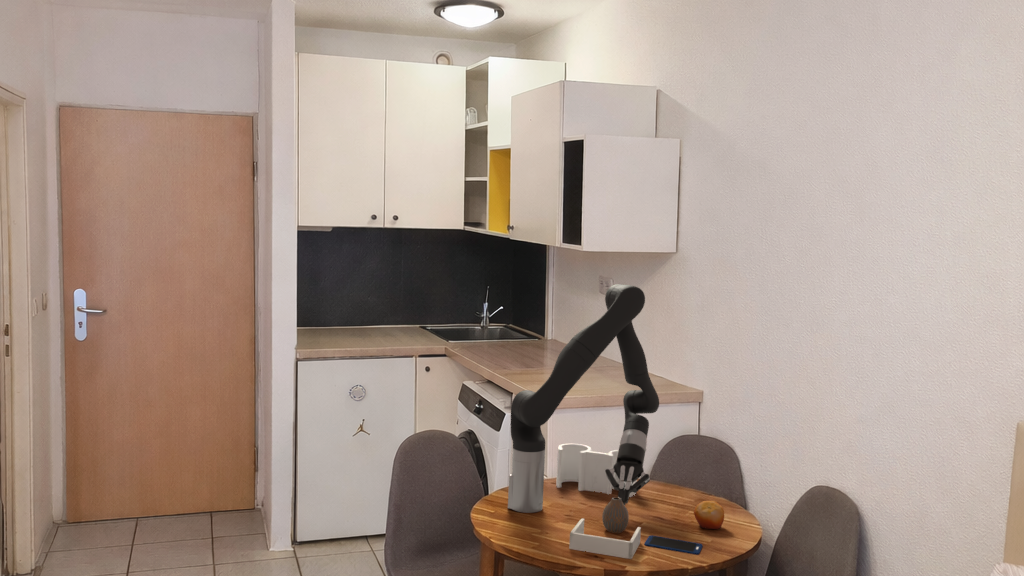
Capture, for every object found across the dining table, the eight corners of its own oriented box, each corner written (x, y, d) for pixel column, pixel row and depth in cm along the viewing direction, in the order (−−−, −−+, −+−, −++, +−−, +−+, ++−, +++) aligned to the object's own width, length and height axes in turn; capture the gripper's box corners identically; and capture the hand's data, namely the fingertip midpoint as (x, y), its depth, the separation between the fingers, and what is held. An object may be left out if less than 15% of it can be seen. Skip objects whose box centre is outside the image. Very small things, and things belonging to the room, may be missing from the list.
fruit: (725, 517, 229) (725, 497, 224) (722, 539, 223) (722, 519, 218) (696, 513, 231) (695, 493, 227) (692, 535, 225) (692, 515, 221)
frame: (569, 548, 204) (569, 532, 204) (580, 533, 216) (581, 518, 215) (631, 559, 199) (632, 542, 199) (640, 542, 210) (640, 527, 210)
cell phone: (698, 556, 204) (699, 553, 204) (643, 546, 209) (643, 543, 209) (703, 546, 211) (703, 543, 211) (649, 537, 216) (649, 534, 216)
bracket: (639, 490, 256) (641, 451, 255) (632, 499, 247) (634, 459, 246) (562, 478, 264) (563, 441, 264) (552, 487, 255) (554, 448, 255)
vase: (598, 532, 217) (600, 499, 216) (605, 524, 223) (607, 492, 223) (624, 537, 214) (626, 504, 214) (630, 528, 221) (632, 496, 220)
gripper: (608, 439, 236) (596, 493, 225) (654, 444, 232) (644, 500, 221) (611, 453, 241) (600, 507, 230) (656, 458, 237) (647, 513, 226)
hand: (622, 503), depth 226 cm, fingers closed
